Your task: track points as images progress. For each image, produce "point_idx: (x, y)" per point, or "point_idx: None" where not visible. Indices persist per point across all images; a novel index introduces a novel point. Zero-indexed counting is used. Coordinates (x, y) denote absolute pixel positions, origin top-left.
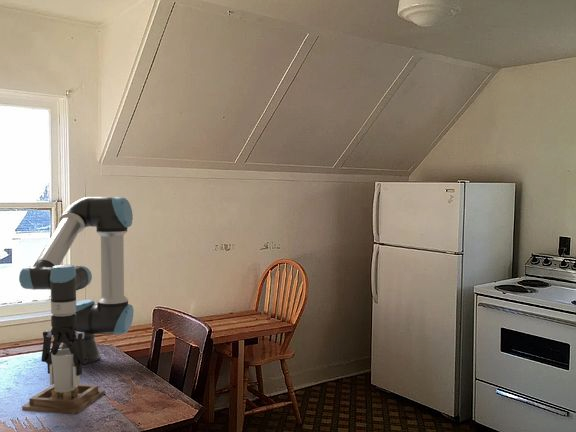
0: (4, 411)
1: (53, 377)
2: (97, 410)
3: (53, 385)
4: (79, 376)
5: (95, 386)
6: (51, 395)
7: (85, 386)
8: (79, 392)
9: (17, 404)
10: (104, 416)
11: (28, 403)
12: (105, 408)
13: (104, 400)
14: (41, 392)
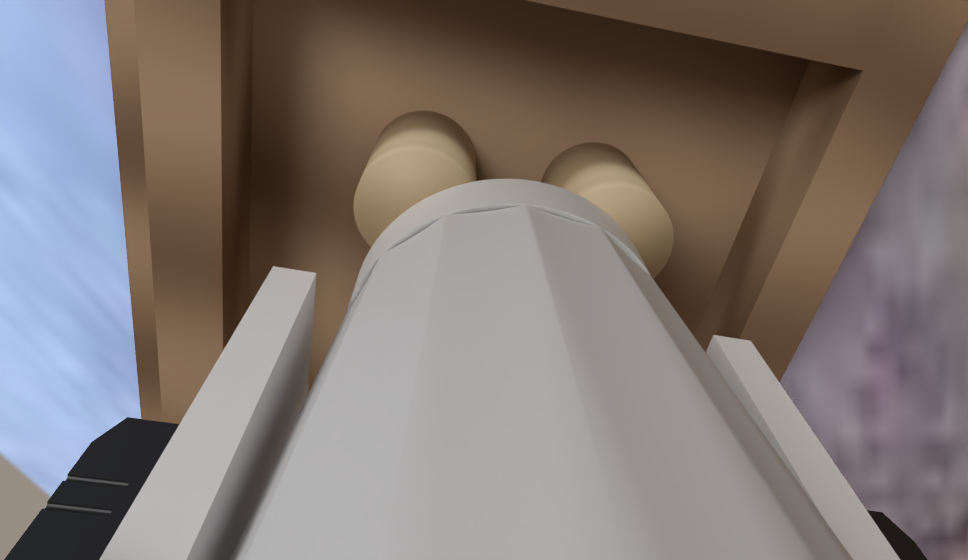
0: (24, 473)
1: (280, 436)
2: (880, 438)
3: (164, 14)
4: (805, 440)
5: (927, 57)
6: (271, 169)
7: (751, 45)
8: (627, 45)
9: (3, 329)
10: (939, 531)
11: (155, 400)
12: (956, 399)
13: (958, 205)
14: (177, 316)
